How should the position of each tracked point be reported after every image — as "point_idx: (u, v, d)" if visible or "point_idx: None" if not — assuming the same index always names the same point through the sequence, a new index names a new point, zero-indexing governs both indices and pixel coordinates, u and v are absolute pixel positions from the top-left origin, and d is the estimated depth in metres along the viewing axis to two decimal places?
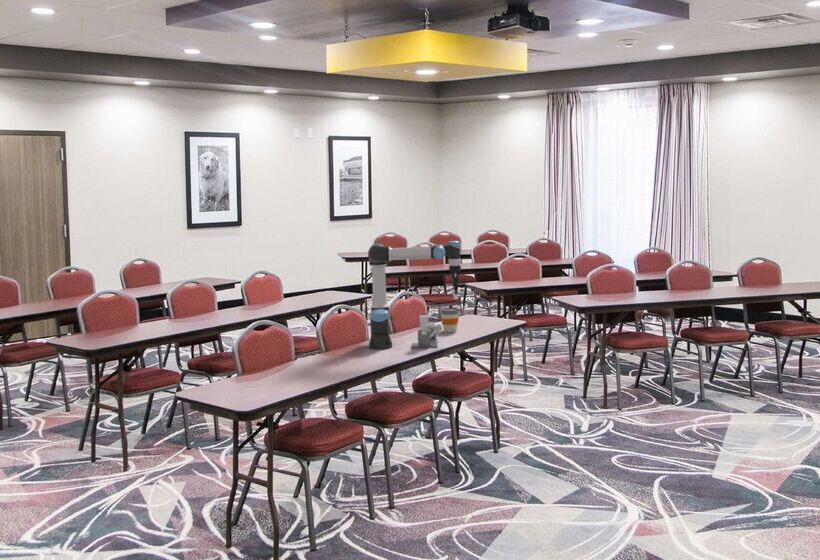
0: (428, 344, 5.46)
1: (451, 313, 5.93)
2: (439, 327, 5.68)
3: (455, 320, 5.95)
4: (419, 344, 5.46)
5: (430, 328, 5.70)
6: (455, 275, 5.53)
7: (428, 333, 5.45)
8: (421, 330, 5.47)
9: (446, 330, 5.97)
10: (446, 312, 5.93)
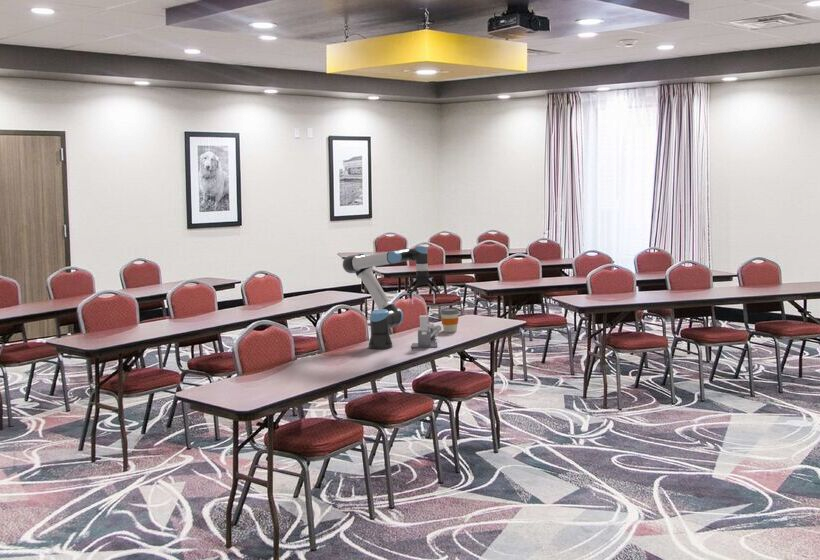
0: (428, 344, 5.46)
1: (451, 313, 5.93)
2: (438, 327, 5.67)
3: (455, 320, 5.95)
4: (419, 344, 5.46)
5: (429, 328, 5.69)
6: None
7: (428, 333, 5.45)
8: (421, 330, 5.47)
9: (446, 330, 5.97)
10: (446, 312, 5.93)
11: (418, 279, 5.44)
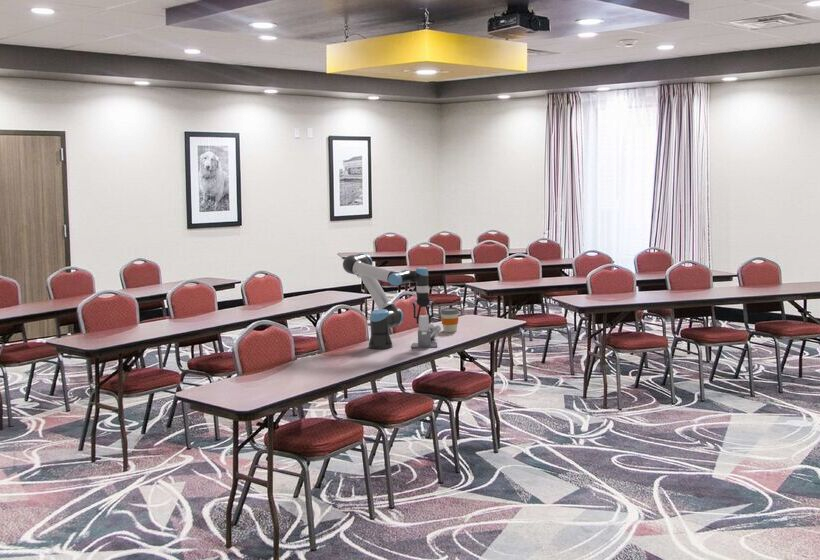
0: (428, 344, 5.46)
1: (451, 313, 5.93)
2: (438, 328, 5.66)
3: (455, 320, 5.95)
4: (419, 344, 5.46)
5: None
6: None
7: (428, 333, 5.45)
8: (421, 330, 5.47)
9: (446, 330, 5.97)
10: (446, 312, 5.93)
11: (418, 301, 5.46)
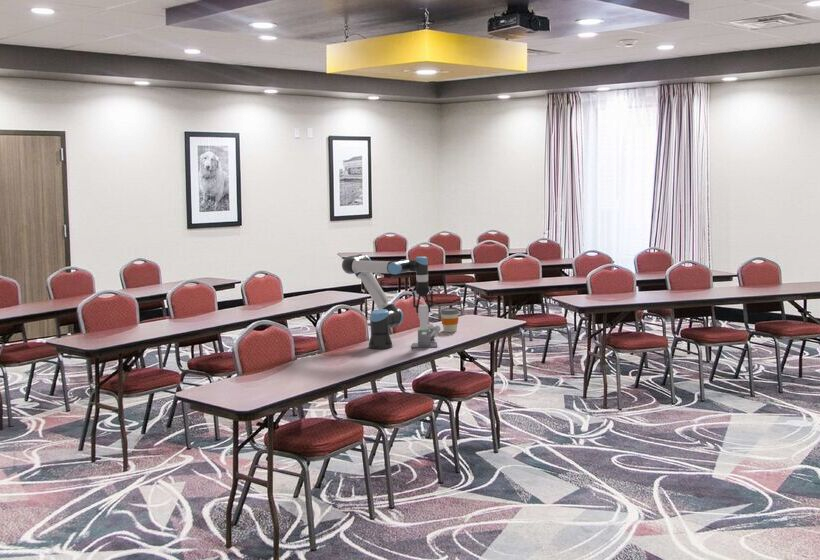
0: (428, 344, 5.46)
1: (451, 313, 5.93)
2: (438, 328, 5.66)
3: (455, 320, 5.95)
4: (419, 344, 5.46)
5: None
6: None
7: (428, 333, 5.45)
8: (421, 319, 5.46)
9: (446, 330, 5.97)
10: (446, 312, 5.93)
11: (418, 290, 5.45)
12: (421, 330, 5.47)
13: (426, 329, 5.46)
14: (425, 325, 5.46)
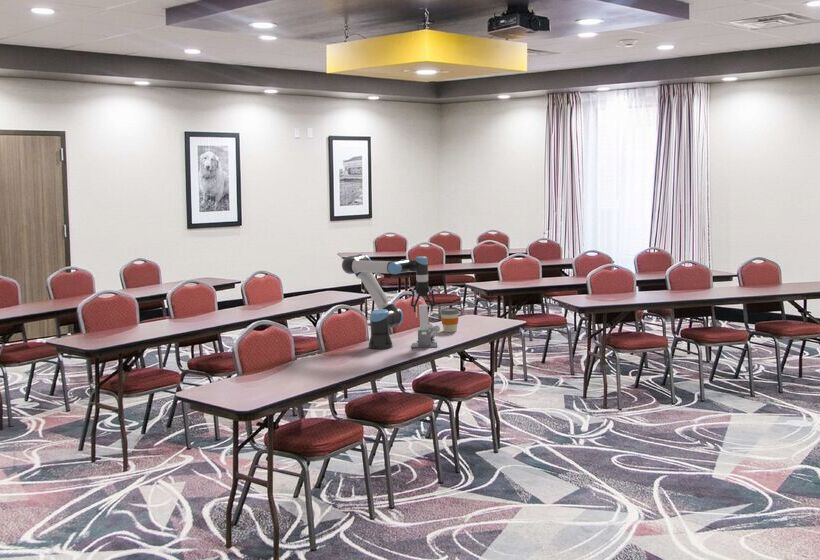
0: (428, 344, 5.46)
1: (451, 313, 5.93)
2: (437, 328, 5.66)
3: (455, 320, 5.95)
4: (419, 344, 5.46)
5: None
6: (412, 292, 5.46)
7: (428, 333, 5.45)
8: (421, 319, 5.46)
9: (446, 330, 5.97)
10: (446, 312, 5.93)
11: (418, 290, 5.45)
12: (421, 330, 5.47)
13: (426, 329, 5.46)
14: (425, 325, 5.46)
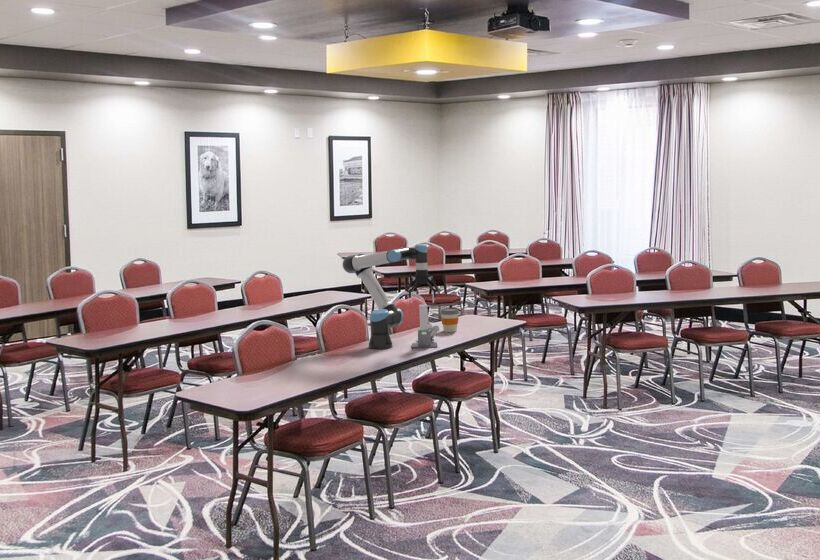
0: (428, 344, 5.46)
1: (451, 313, 5.93)
2: (437, 328, 5.66)
3: (455, 320, 5.95)
4: (419, 344, 5.46)
5: None
6: (411, 278, 5.45)
7: (428, 333, 5.45)
8: (421, 319, 5.46)
9: (446, 330, 5.97)
10: (446, 312, 5.93)
11: (417, 278, 5.44)
12: (421, 330, 5.47)
13: (426, 329, 5.46)
14: (425, 325, 5.46)
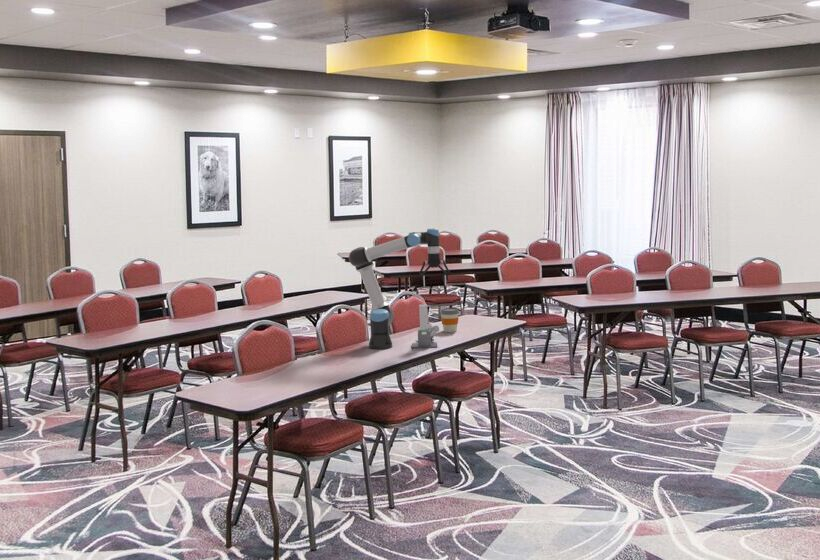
0: (428, 344, 5.46)
1: (451, 313, 5.93)
2: (436, 328, 5.66)
3: (455, 320, 5.95)
4: (419, 344, 5.46)
5: None
6: (423, 262, 5.54)
7: (428, 333, 5.45)
8: (421, 319, 5.46)
9: (446, 330, 5.97)
10: (446, 312, 5.93)
11: (430, 261, 5.52)
12: (421, 330, 5.47)
13: (426, 329, 5.46)
14: (425, 325, 5.46)
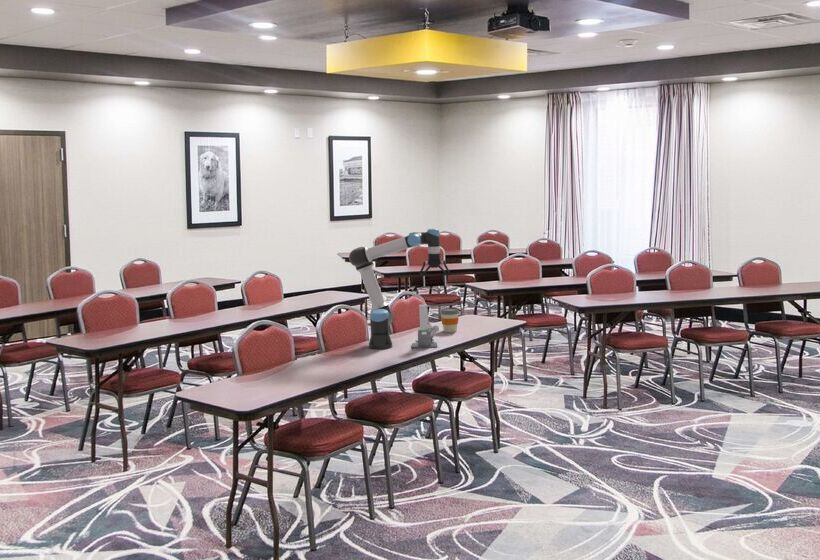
0: (428, 344, 5.46)
1: (451, 313, 5.93)
2: (436, 328, 5.66)
3: (455, 320, 5.95)
4: (419, 344, 5.46)
5: None
6: None
7: (428, 333, 5.45)
8: (421, 319, 5.46)
9: (446, 330, 5.97)
10: (446, 312, 5.93)
11: (430, 262, 5.53)
12: (421, 330, 5.47)
13: (426, 329, 5.46)
14: (425, 325, 5.46)
